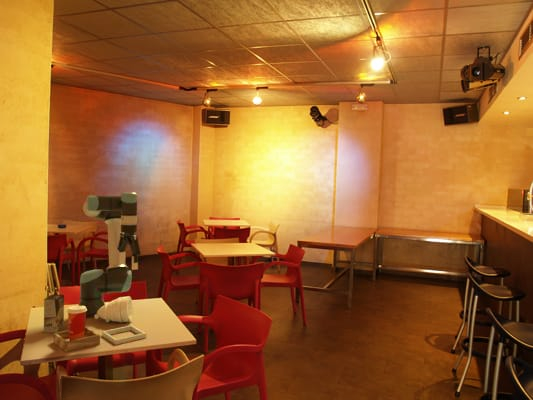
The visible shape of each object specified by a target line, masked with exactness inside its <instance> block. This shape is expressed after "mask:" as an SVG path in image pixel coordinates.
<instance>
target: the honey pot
mask: <svg viewBox="0 0 533 400" xmlns="http://www.w3.org/2000/svg"><path fill="white" fill-rule="evenodd" d="M104 303H105V305H104V306H102V307H101V308H100V309H99V310H98V311H97V314H95V317H94V320H98V319H99V318H101V319H103V320H105V322H106V323H109V322H111V321H112V322H113V323H114V322H115V323H116V322H117V323H119V324H120V323H121V324H123V323H130V322H131V323H132V321H133V318H134V306H133V300H132V297H131V296H129V295H128V296H120V297H117V298H115V299H114V300H113V299H112V300H111V301H109V302H104Z"/></svg>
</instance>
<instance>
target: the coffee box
mask: <svg viewBox="0 0 533 400" xmlns="http://www.w3.org/2000/svg"><path fill="white" fill-rule="evenodd" d="M64 316H65V294H50V295H49V296H47V297H45V298H44V299H43V333H57V332H60V330H62V329H63V328H64V325H65V324H64V323H65V317H64Z"/></svg>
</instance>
